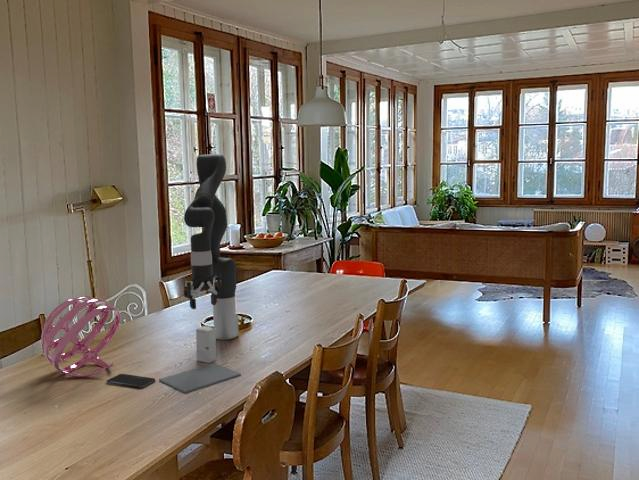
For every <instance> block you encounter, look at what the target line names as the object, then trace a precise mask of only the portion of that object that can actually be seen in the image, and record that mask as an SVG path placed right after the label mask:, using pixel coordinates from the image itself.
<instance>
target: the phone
mask: <svg viewBox="0 0 639 480" xmlns="http://www.w3.org/2000/svg"><path fill="white" fill-rule="evenodd" d="M154 383H156V378H155V377H147V376H142V375H141V376H140V375H134V374H128V373H127V374H126V373H119V374H117V375H115V376H113V377H111V378H109V379H107V380H106V384H107V385H114V386H120V387H125V388H132V389H138V390H140V389H141V390H142V389H145V388H147V387H149V386H150V385H152V384H154Z"/></svg>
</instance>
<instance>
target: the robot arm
mask: <svg viewBox="0 0 639 480" xmlns="http://www.w3.org/2000/svg"><path fill="white" fill-rule="evenodd" d="M195 162H196V171H197V178H198V181H199V182H198V183H199V186H198V188H197V189H196V191H195V195H194V198H193V200H192V201H191V203H190V204H189V205H188V206H187V208H186V210H185V212H184V216H183V221H184V223H185V225H186V226H187V227H189V228H203V231H202V232H199V233H195V234H192V235H191V236H190V267H191V268H190V270H191V277H192V278H191V281H190V280H189V281H188V280H184V282H183V293H184V294H183V295H184V296H183V298H186V299H188V300H189V307H190V309H192V310H197V299H196V297H197V295H199V293H200V292H204V291H208V292H209V293H210V304H211V305H212V310H213V311H212V316H213V328H215V329H216V340H221V341H223V340H224V341H225V340H227V341H228V340H232V339H235V338H237V337H238V336H239V334H240V333H239V315H238V314H239V313H237V311H236V310H237V309H236V308H237V307H236V290H237V277H238V276H237V273H238V272H237V269H238V268H237V264H236V261H235V260H234V259H233V258H230V257H221V243H222V239H223V237H224V236H225V233H226V232H227V228H228V218H227V209H226V207H225V206H224V204H223V203H222V201H221V199H220V198H219V197H218V196H217V195H216V194H217V191H218V189H219V187H220V185H221V183H222V182H223V180H224V177H225V174H226V171H227V162H226V158H225V156H224V155H223V154H221V153H211V154H200V155H198V156H197V158H196V161H195ZM213 283H214V284H213ZM213 285H214V286H213Z"/></svg>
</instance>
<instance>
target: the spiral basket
mask: <svg viewBox="0 0 639 480" xmlns="http://www.w3.org/2000/svg"><path fill="white" fill-rule="evenodd" d="M82 300H84V301H82ZM80 301H81V302H80ZM99 302H101V303H102V305H100V306H99V307H97V303H99ZM71 305H72V307H71V309H70V310H68V312H66V313H65V314H64V315H63V316H62V317H61V316H59V315H60V314H61V313H63V312H64V310H65V309H67V308H69V306H71ZM84 308H87V310H86V311H85V313H84V315H83V316H82V317H81V318H79V319H78V320H77V321H76V322H75V323H74V324H73V325H72V326H71V327H70V328H69V325H70V323H71V322H72V321H73V320H74V319H75V317H77V315H78V313H79V312H80V311H81V310H83V309H84ZM111 311H114V312H115V318H114V320H113V323H112V325H111V327H110V328H109V330H108V332H107V334H105V335H104V337H103V338H102V340H101V341H100V342H99V343H98V344H97V346H95V347H94V348H93V349H89V347H88V346H89V344H91V342H92V341H93V340H94V339H95V338H96V337H97V336H98V334H99V333H100V332H101V330H103V328H104V326H105V325H106V322H107V320H108V319H109V315H110V312H111ZM58 316H59V320H58V321H57V322H56V324H55V325H53V322H54V320H55V319H56V318H57V317H58ZM98 316H100V317H99V318H98V321H97V322H96V324H95V326H94V327H93V328H92V330H91V331H90V332H89V333H88V334H87V336H85V337H84V338H83V339H79V338H78V335H79V334H80V333H81V331H83V330H84V328H85V327H86V326H87V325H88V323H89V322H90V321H92V320H93V319H94V318H96V317H98ZM121 319H122V317H121V312H120V310H119V309H118V308H117V307H116V306H114V305H112V304H110V303H109V302H108V301H107V300H106V299H103V298H100V297H92V296H89V295H83V296H77V297H75V298H72V299H71V298H70V299H67V300H65V301H63V302H62V303H60V304H58V305H57V306H56V307H55V308H54V309H53V310H52V311H51V312H50V313H49V314H48V316H47V317H46V320H45V322H44V325H43V328H42V332H41V338H40V341H41V345H42V346H43V355H44V356H45V358H46V360H47V361H48V362H49V363H50V364H51V365H52V366H53V368H54V369H55V370H57V371H58V372H60V373H62V374H64V375H66V376H68V377H73V378H88V377H93V376H95V375H98V374H100V373H102V372H104V371H105V370H106V369H109V368H112V367H114V363H111V364H109V363H108V362H106V361H104V360H102V359H101V358H99V354H100V353H101V352H102V351H103V349H104V348H105V347H106V346H107V345H108V344H109V343H110V341H111V340H112V338H113V337H114V336H115V334H116V332H117V330H118V328H119V326H120V323H121ZM52 325H53V326H52ZM61 330H64V333H65V334H64V335H63V336H62V337H60V338H58V339H56V340H54V338H55V336H56V335H57V334H58V333H59V331H61ZM70 342H71V343H72V344H73V347H72V348H71V349H68V350H67V351H66V352H64V350H65V349H66V347H67V345H68V344H69V343H70ZM52 349H54V351H53V354H51V351H50V350H52ZM63 352H64V353H63ZM77 354H82V355H83V357H82V358H81V359H80V360H78V361H76V362H75V363H72V364H71V365H68V366H65V367H60V366H59V365H60V364H59V363H60V362H64V361H66V360H68V359H70V358H73V357H74V356H75V355H77ZM88 363H94V364H95V365H97V366H99V367H101V368H100V369H98V370H96V371H94V372H93V371H92V372H91V373H86V374H85V373H83V374H77V373H72V372H73V371H76V370H78V369H80V368H81V367H84V366H85V365H86V364H88ZM70 372H71V373H70Z"/></svg>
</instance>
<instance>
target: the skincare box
mask: <svg viewBox="0 0 639 480" xmlns="http://www.w3.org/2000/svg"><path fill="white" fill-rule="evenodd" d="M195 333H196V336H195V337H196V338H195V339H196V341H195V343H196V345H195V346H196V361H199V362H202V363H209V364H210V363H213V362H214V361H216V360H217V356H216V355H217V351H216V349H217V347H216V346H217V343H216V341H217V339H216V329H215V328H214V327H211V326H205V325H203V326H200V327H197V328H196V329H195Z"/></svg>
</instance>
